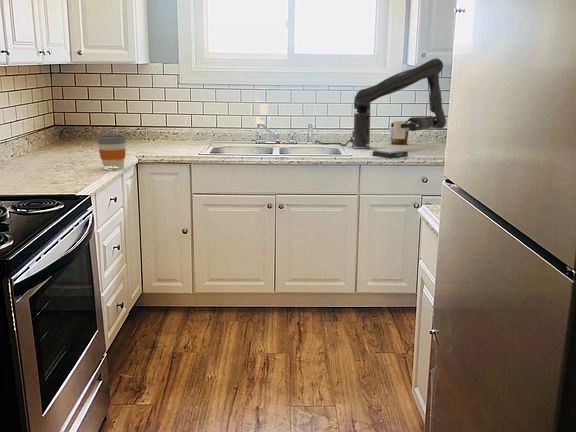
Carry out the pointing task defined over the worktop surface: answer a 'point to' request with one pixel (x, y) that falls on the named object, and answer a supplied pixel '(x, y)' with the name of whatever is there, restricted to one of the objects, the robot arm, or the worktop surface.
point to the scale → (390, 153)
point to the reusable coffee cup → (112, 150)
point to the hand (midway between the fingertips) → (396, 125)
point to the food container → (399, 141)
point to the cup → (398, 130)
